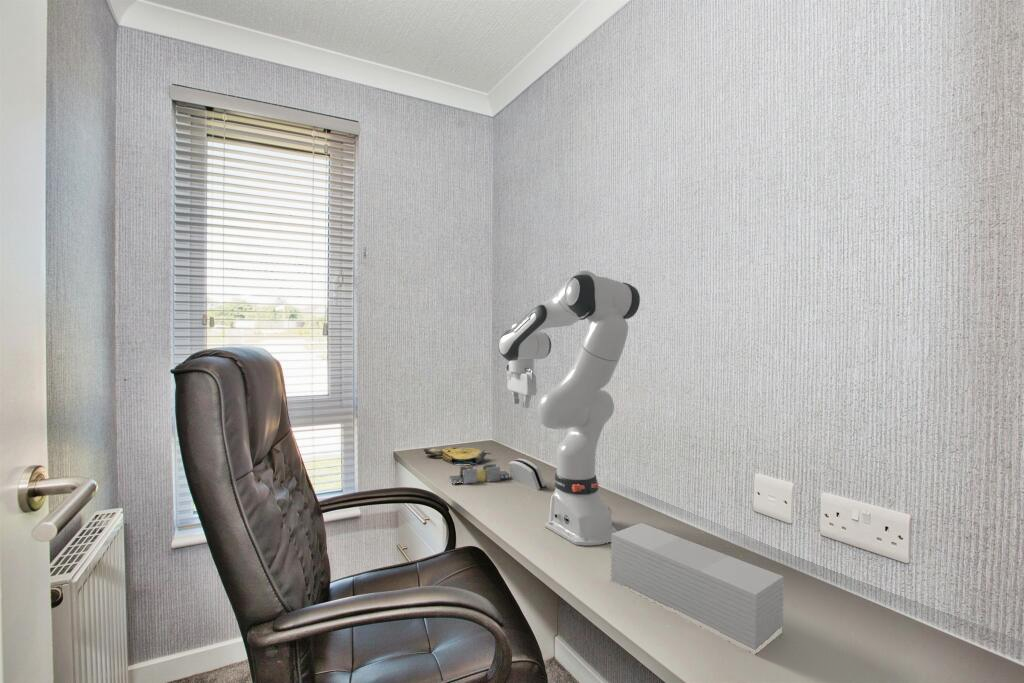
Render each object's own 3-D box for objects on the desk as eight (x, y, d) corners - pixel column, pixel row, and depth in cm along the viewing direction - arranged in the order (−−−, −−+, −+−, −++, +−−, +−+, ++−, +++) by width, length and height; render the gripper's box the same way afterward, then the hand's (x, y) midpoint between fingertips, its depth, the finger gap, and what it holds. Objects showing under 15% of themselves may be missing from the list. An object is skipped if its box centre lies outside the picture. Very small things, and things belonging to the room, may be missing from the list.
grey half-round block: (548, 487, 175) (541, 462, 173) (538, 494, 172) (531, 469, 170) (521, 476, 189) (514, 453, 187) (512, 482, 186) (505, 458, 184)
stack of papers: (610, 581, 109) (611, 533, 109) (640, 567, 116) (641, 522, 116) (754, 656, 84) (756, 594, 84) (782, 634, 90) (783, 576, 90)
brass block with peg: (495, 480, 183) (496, 468, 183) (464, 483, 180) (464, 470, 180) (494, 479, 186) (494, 466, 186) (463, 481, 182) (463, 468, 182)
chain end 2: (509, 479, 184) (510, 466, 184) (487, 482, 181) (487, 468, 181) (504, 475, 190) (504, 462, 190) (482, 477, 186) (482, 464, 186)
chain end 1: (476, 483, 179) (476, 469, 179) (452, 485, 176) (453, 471, 176) (472, 478, 185) (472, 465, 185) (449, 480, 182) (449, 467, 182)
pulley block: (434, 439, 225) (492, 446, 212) (435, 451, 226) (492, 458, 213) (415, 450, 212) (476, 458, 199) (416, 462, 213) (477, 471, 200)
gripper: (541, 369, 168) (540, 409, 168) (519, 365, 187) (519, 401, 187) (524, 369, 165) (523, 410, 166) (504, 365, 185) (503, 402, 185)
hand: (521, 405), depth 176 cm, fingers open, 8 cm apart
